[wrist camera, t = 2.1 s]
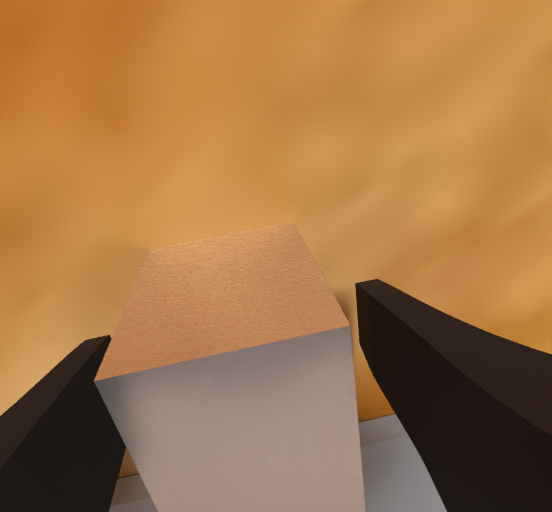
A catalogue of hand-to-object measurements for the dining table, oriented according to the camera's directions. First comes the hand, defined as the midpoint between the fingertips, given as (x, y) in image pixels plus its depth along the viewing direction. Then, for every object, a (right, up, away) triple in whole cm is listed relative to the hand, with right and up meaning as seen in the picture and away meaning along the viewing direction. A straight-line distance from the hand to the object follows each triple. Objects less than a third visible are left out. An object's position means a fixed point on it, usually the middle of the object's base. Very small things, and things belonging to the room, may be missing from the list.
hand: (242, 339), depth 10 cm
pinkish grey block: (0, +1, +1) cm, 1 cm away
